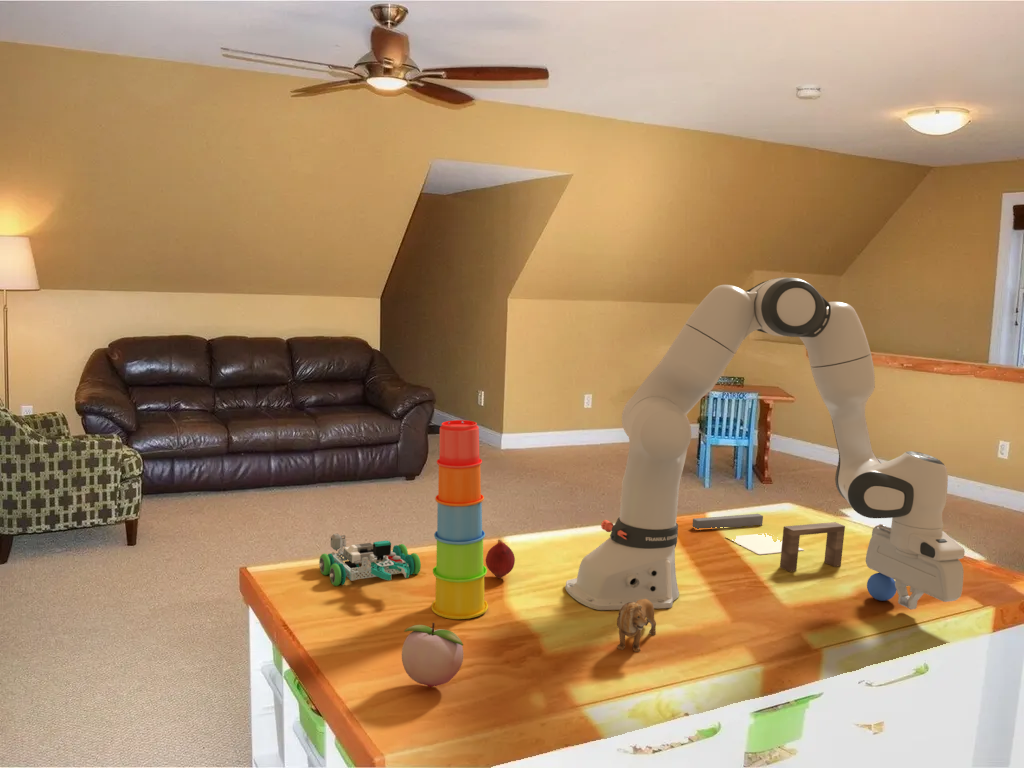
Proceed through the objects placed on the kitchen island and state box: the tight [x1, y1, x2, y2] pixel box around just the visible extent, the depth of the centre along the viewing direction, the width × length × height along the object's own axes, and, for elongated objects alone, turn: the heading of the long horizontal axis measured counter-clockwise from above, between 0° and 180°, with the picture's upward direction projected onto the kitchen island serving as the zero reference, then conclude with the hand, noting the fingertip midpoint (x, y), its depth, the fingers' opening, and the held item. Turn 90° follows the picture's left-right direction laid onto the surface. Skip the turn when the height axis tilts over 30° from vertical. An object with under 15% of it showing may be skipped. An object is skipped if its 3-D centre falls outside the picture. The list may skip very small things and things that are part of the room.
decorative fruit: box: [401, 622, 464, 688], centre depth 127 cm, size 9×8×10 cm
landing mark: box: [731, 532, 805, 556], centre depth 206 cm, size 13×13×1 cm
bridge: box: [779, 521, 846, 572], centre depth 191 cm, size 3×14×9 cm, turn 113°
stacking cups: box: [431, 419, 489, 620], centre depth 156 cm, size 10×10×35 cm
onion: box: [485, 538, 516, 579], centre depth 174 cm, size 6×6×8 cm
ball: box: [866, 572, 897, 602], centre depth 173 cm, size 6×6×6 cm
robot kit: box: [318, 533, 422, 587], centre depth 169 cm, size 19×25×9 cm
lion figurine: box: [616, 599, 657, 653], centre depth 147 cm, size 15×5×9 cm, turn 160°
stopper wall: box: [691, 513, 764, 529], centre depth 219 cm, size 20×2×2 cm, turn 113°
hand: (907, 606), depth 167 cm, fingers closed
